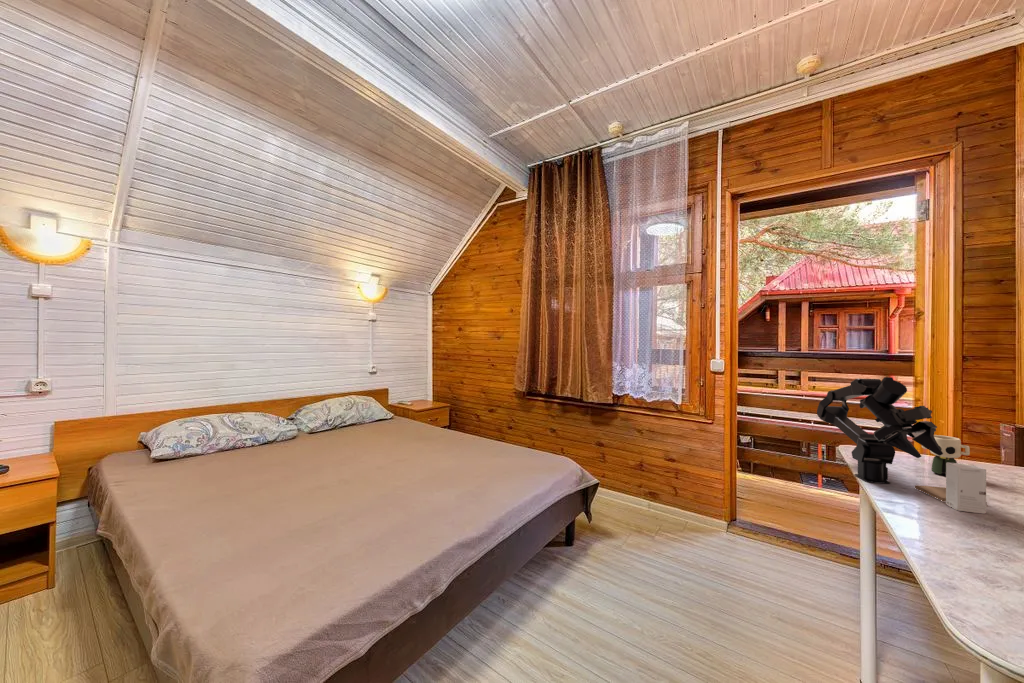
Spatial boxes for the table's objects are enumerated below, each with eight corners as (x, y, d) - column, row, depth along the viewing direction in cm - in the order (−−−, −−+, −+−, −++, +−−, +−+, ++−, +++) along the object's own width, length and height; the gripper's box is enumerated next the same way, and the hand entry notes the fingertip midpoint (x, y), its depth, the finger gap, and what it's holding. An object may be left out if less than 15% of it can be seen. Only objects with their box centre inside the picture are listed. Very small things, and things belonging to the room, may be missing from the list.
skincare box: (957, 511, 101) (957, 466, 101) (944, 504, 105) (944, 461, 105) (988, 514, 99) (988, 469, 99) (973, 507, 103) (973, 464, 104)
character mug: (920, 472, 131) (919, 435, 131) (923, 468, 135) (923, 432, 135) (968, 481, 122) (968, 442, 122) (970, 477, 127) (970, 439, 127)
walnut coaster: (942, 501, 107) (942, 498, 107) (914, 488, 117) (914, 485, 117) (986, 505, 105) (986, 501, 105) (954, 491, 114) (954, 488, 114)
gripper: (885, 397, 112) (935, 444, 101) (928, 395, 116) (980, 439, 106) (855, 418, 119) (898, 463, 109) (897, 415, 124) (942, 458, 113)
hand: (930, 456), depth 109 cm, fingers open, 9 cm apart
